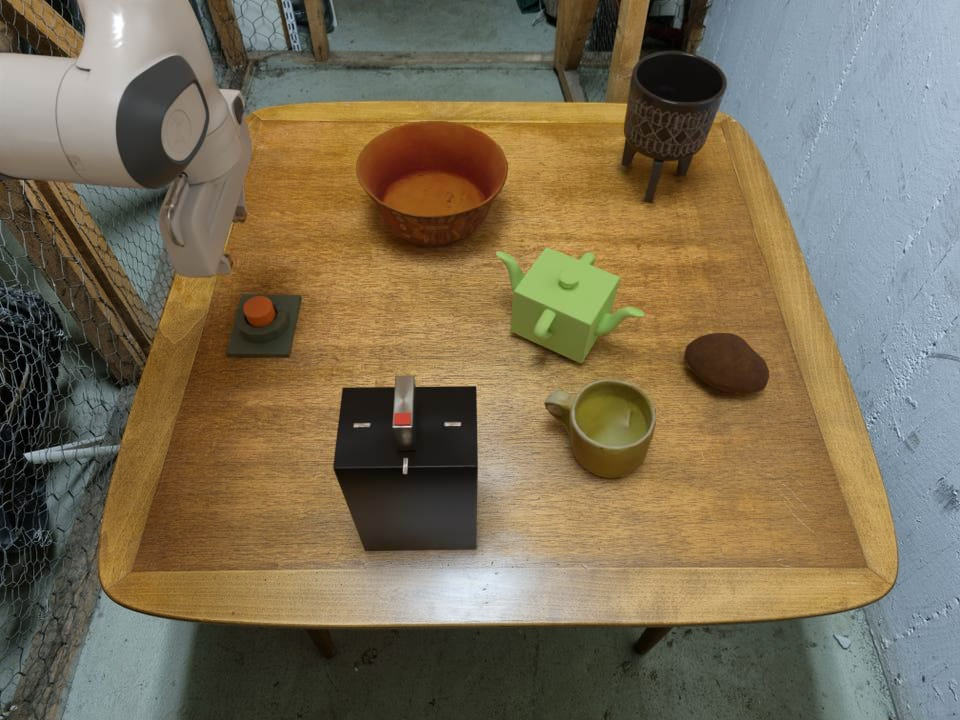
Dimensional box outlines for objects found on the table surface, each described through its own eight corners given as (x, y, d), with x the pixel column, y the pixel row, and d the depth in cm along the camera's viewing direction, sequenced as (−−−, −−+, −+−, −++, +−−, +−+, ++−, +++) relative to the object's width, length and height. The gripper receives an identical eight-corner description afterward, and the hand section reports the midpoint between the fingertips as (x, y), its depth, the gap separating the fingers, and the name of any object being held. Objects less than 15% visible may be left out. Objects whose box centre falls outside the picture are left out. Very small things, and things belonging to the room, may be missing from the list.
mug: (677, 425, 79) (668, 392, 71) (634, 500, 77) (620, 476, 68) (587, 383, 85) (570, 348, 77) (545, 452, 83) (523, 424, 75)
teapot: (492, 299, 92) (495, 244, 84) (582, 277, 95) (593, 220, 86) (533, 388, 84) (540, 337, 75) (630, 361, 87) (648, 308, 78)
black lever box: (364, 557, 72) (331, 474, 55) (370, 477, 77) (342, 380, 60) (476, 555, 72) (478, 472, 55) (475, 476, 77) (476, 379, 61)
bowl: (422, 154, 110) (418, 100, 102) (532, 206, 103) (537, 152, 95) (336, 227, 100) (324, 173, 92) (450, 290, 93) (448, 238, 85)
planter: (671, 147, 112) (701, 44, 97) (707, 198, 105) (744, 96, 90) (599, 160, 110) (618, 57, 95) (630, 213, 102) (655, 111, 88)
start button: (273, 327, 87) (269, 317, 85) (245, 327, 87) (240, 317, 85) (278, 305, 89) (274, 295, 87) (250, 305, 89) (246, 295, 87)
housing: (289, 357, 86) (285, 345, 84) (227, 356, 86) (221, 345, 84) (301, 298, 92) (298, 285, 90) (243, 297, 92) (238, 285, 90)
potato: (755, 415, 82) (776, 383, 76) (671, 384, 85) (686, 352, 79) (766, 371, 86) (787, 338, 80) (686, 344, 88) (700, 310, 83)
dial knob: (399, 400, 59) (395, 373, 56) (417, 400, 59) (414, 373, 56) (396, 451, 56) (391, 426, 53) (415, 450, 57) (412, 425, 53)
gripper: (197, 216, 60) (241, 314, 71) (244, 81, 71) (276, 184, 83) (125, 215, 59) (181, 314, 71) (185, 81, 71) (224, 184, 83)
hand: (232, 243), depth 77 cm, fingers open, 7 cm apart
